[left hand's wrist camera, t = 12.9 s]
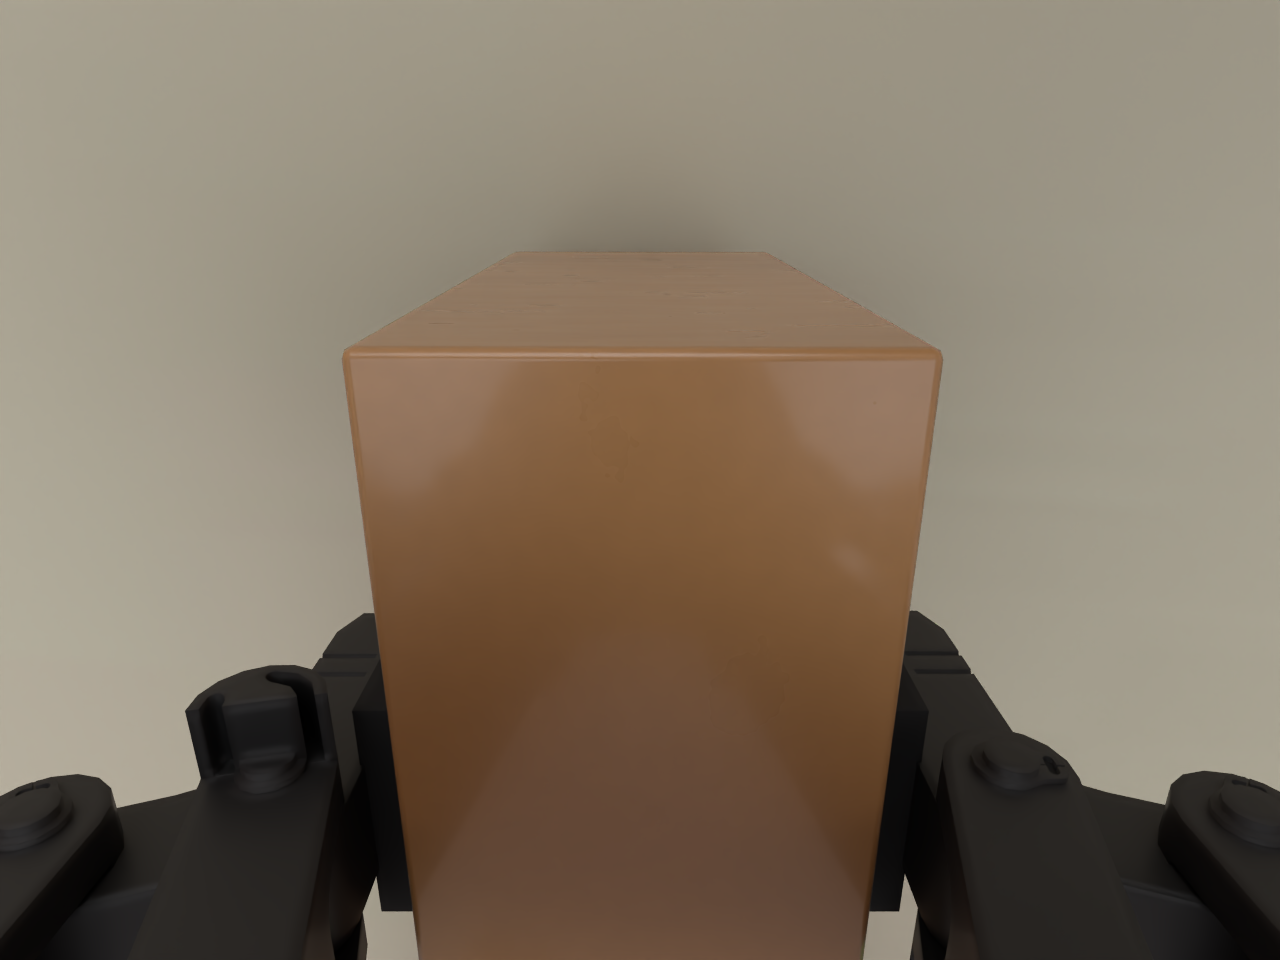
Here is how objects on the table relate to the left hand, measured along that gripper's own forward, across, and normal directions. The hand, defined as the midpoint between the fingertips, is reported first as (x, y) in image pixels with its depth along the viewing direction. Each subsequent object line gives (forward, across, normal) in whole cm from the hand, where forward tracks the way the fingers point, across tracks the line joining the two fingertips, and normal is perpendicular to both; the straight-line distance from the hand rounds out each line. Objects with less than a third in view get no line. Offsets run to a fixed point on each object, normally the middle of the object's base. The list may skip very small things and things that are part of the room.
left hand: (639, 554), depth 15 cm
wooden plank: (+1, 0, -32) cm, 32 cm away
